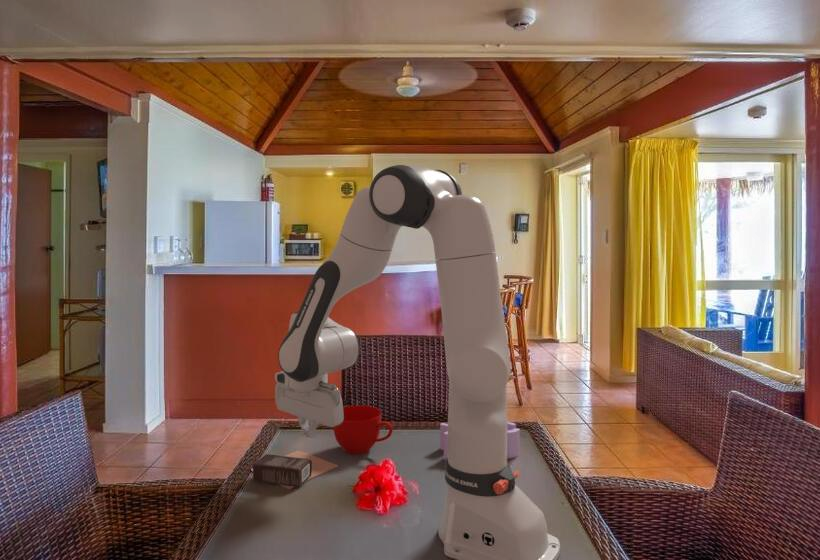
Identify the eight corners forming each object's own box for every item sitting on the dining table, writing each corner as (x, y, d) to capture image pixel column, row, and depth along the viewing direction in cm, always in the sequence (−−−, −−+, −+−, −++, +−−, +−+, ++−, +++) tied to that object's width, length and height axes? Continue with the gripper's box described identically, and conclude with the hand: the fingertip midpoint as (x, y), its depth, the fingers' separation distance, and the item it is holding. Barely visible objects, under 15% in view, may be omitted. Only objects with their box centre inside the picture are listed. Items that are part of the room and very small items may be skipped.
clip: (510, 442, 146) (511, 418, 145) (524, 462, 134) (524, 435, 133) (438, 445, 144) (438, 420, 144) (445, 464, 132) (445, 437, 131)
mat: (338, 466, 130) (338, 465, 130) (289, 489, 118) (289, 488, 118) (298, 451, 139) (298, 450, 139) (249, 470, 128) (249, 469, 128)
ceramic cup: (379, 466, 130) (379, 426, 130) (322, 454, 138) (322, 416, 137) (403, 447, 142) (403, 411, 141) (349, 437, 149) (349, 402, 149)
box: (311, 477, 124) (266, 469, 127) (312, 459, 124) (266, 451, 127) (299, 489, 118) (252, 481, 122) (299, 470, 118) (252, 462, 121)
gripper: (349, 383, 119) (349, 443, 120) (291, 368, 131) (291, 422, 132) (328, 389, 114) (329, 451, 115) (270, 373, 126) (271, 429, 128)
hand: (308, 436), depth 124 cm, fingers closed
